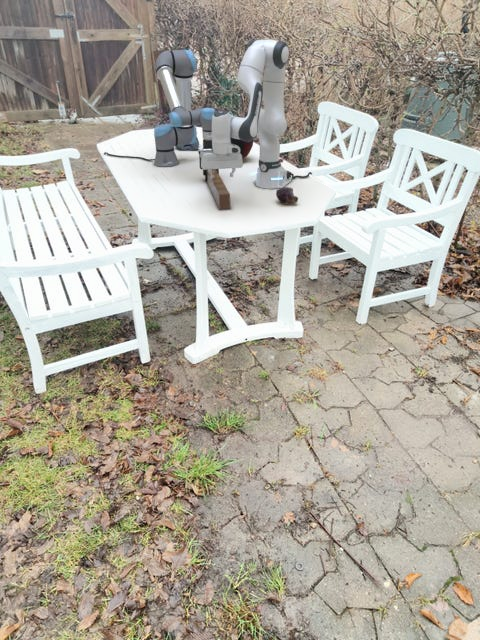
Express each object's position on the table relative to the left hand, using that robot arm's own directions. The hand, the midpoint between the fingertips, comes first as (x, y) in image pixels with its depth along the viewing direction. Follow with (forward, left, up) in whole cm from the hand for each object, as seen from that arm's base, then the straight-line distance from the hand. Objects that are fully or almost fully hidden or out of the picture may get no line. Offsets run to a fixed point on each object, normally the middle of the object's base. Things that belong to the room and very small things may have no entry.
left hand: (211, 180), depth 263 cm
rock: (+55, 0, 0) cm, 55 cm away
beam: (+17, -12, 0) cm, 21 cm away
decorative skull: (-22, +44, 0) cm, 49 cm away
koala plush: (-69, +43, 0) cm, 81 cm away
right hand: (+34, -25, +14) cm, 45 cm away
